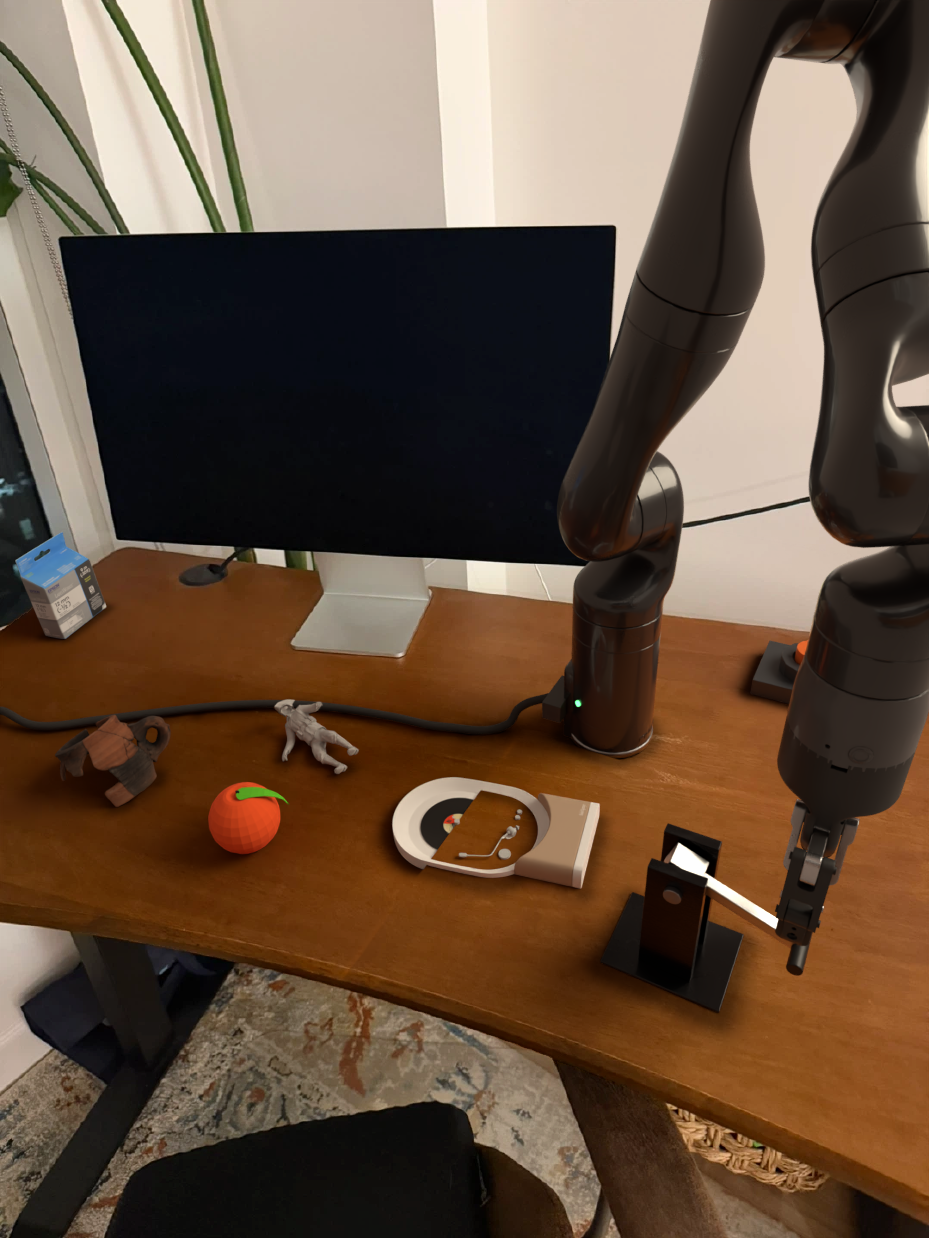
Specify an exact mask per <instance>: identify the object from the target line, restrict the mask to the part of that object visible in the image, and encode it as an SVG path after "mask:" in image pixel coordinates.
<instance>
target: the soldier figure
mask: <svg viewBox="0 0 929 1238" xmlns="http://www.w3.org/2000/svg"><path fill="white" fill-rule="evenodd" d="M282 700H283V701H281V702H278V703H277V704H276V705H275V706H274V708H273V709H274V710H275V711H277V713H278V714H279V715H281V716H283V717H284V718H286V723H285V724H284V728H285V734H286V744H285V747H284V749H283V752H282V755H281V760H282V762H285V761H288V755H289V754H290V753H291V751H292V750H293V748H294V746H295V743H296V736H297V738H298V739H299V740H300V741H304V742H305V743H306V744H307V745H308V746H309V747H311V752H312V754H313V757H314V758H315V759H316V761H318V762H320V763H321V764H322V765H330V766H332V767H335V768H334V770H333V771H334V774H336V775H340V774H341V773H344V772H346V770H347V769H348V766H347V765H346V764H344V763H342V762H340V761H338V760H336V759H335V758H333V757H332V756H331V755H329V754H328V753H327V748H326V747H327V743H330V744H332V745H333V744H335V745H336V746H340V747H342V748H346V749H347V751H346V753H347V755H348V756H350V757H351V756H353V755H354V756H355V755H358V753H359V752H360V751H359V750H360V749H359V748H357V747H356V746H354V745H352V744H351V743H350V742H349V741H348V740H347V739H345V737H342V736H341V735H340V734H338V733H337V732H336V731H335V730H329V729H327V727H325V726H323V725H321V723H319V722H317V719H316V717H314V716H313V715H310V714H312V713H316V712H317V711H320V710H319V708H320V707H321V705H322V703H321V702H322V701H315V702H316V703H314V704H311V705H299V706H298V707H297V708H296V709H295V708H294V707H293V706H292V704H293V702H294V701H295V700H296V699H290V698H288V699H287V698H286V699H282Z"/></svg>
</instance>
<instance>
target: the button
mask: <svg viewBox="0 0 929 1238" xmlns="http://www.w3.org/2000/svg"><path fill="white" fill-rule="evenodd" d="M798 643H799V644H798V645H797V649H796V654H795V662H796V663H797V664H799V665H801V662H802V660H803V658H804V655H805V651H806V647H807V643H808V640H803V641H800V642H798Z"/></svg>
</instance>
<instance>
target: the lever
mask: <svg viewBox="0 0 929 1238" xmlns="http://www.w3.org/2000/svg"><path fill="white" fill-rule="evenodd" d="M664 862H665V863H667V864H670V865H673V866H676V867H679V868H681V869H684V870H687V871H690V872H692V873H695V874H698V875H701V876H704V877H706V878H708V884H707V890H706V895H707V896H709V897H711V898H712V899H713V901H715V902H717V904H720V905H721V906H723V907H725V908H726V909H727V910H729V911H731V912H733V913H734V914H736V915H737V916H738V917H740V918H742V919H743V920H745V921H746V922H748V923H749V924H751V925H753V926H755V927H756V929H759V930H761V931H762V932H763V933H765V934H767V935H769V936H770V937H772V938H773V939H775V940H776V941H777V942H779V943H781V944H782V945H784V946H786V947H787V948H789V952H788V953H789V954H788V957H787V961H786V964H785V969H786V971H787V972H788V973H789V974H790V975H793V976H795V977H801V976H802V975H803V974H804V970H805V965H806V962H807V957H808V955H809V949H810V945H811V942H812V937H813V932H812V934H811V937H810V941H809V944H808V945H807V946H800V945H797V944H795V943H792V942H790V941H787V940H785V939H782V938H780V937H779V936H777V935H776V933H775V929H776V926H777V922H778V919H777V918H776V915H775V916H774V914H772V913H770V912H769V911H767V910H765V909H764V908H762V907H761V906H759V905H757V904H756V903H754V902H752V901H751V900H749V899H748V898H747V897H744V896H743V895H742V894H740V893H739V892H737V891H735V890H733V889H732V888H730V887H729V886H727V885H726V884H725V883H723V882H721V881H719V880H717V878H716V879H715V878H713V877H711V876H710V875H708V874H707V873H706V870H707V868H708V865H709V861H707V860H706V859H704V858H702V857H701V856H699V855H698V854H696V853H694V852H693V851H691V850H690V849H688V848H687V847H685V846H683V845H682V844H680V843H677V844H676V845H675V847H674V848H673V849H672V850H671V852H670V853H669V854H668V855H667V857H666V858H665V860H664Z"/></svg>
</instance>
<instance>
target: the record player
mask: <svg viewBox="0 0 929 1238" xmlns="http://www.w3.org/2000/svg"><path fill="white" fill-rule="evenodd" d="M481 791H484V792H488V793H492V794H493V793H494V794H498V795H502V796H507V797H510V798H513V799H516V800H517V801H519V802H521V803H522V804H524V805H525V806H526V808H528V809H529V810H530V812H531V813H532V815H534V818H535V821H536V825H537V836H536V840H535V842H534V845H533V847H532V848H531V849H530V850H529V851H528V852H526V853H525V854H523V855H521V856H520V857H518V858H517V860H516V861H515V862H514V863H513V864H510V865H507V866H504V867H501V868H500V867H499V868H495V869H481V868H475V867H469V866H464V865H459V864H454V863H451V862H450V863H449V862H445V861H440V860H436V859H432V858H433V857H434V855H435V854H436V853H437V852H438V850H439V849H440V847H441V846H442V845H443V843H444V842H445V841H446V839H447V838H448V837H449V835H450V834H451V833H452V831H453V830H454V828H455V827H456V826H459V825H460V824H461V822H460V820H461V818H462V817H463V816H464V815H465V813H466V812H467V810H468V809H469V807H470V806H471V805H472V803H473V802H474V800H475V799H476V798H477V796H478V795H479V794H480V792H481ZM600 806H601V804H600V803H598V802H594V801H593V802H592V801H587V800H581V799H576V798H570V797H565V796H561V795H560V796H559V795H555V794H548V793H544V792H543V793H542V792H540V793H538V795H537V797H535V796H534V795H532V794H530V793H529V792H528V791H526V790H524V789H520V788H518V787H515V786H510V785H505V784H499V783H496V782H489V781H483V780H478V779H472V778H467V777H465V778H464V777H457V776H452V777H450V776H449V777H441V778H436V779H433V780H430V781H427V782H425V783H422V784H420V785H418V786H416V787H415V788H413V789H412V790H411V791H409V792H408V793H407V794H406V795H404V797H403V798H402V799H401V800H400V801H399V802H398V804H397V806H396V808H395V810H394V813H393V816H392V821H391V822H392V823H391V825H392V835H393V839H394V843H395V847H396V848H397V850H398V852H399V853H400V855H401V856H402V857H403V858H404V859H405V860H406V861H407V862H408V863H410V864H411V865H413V866H414V867H416V868H418V869H420V870H425V868H426V867H427V866H430V867H432V868H433V867H434V868H438V869H441V870H445V871H450V872H455V873H459V874H463V875H468V876H475V877H479V878H488V879H494V878H496V879H497V878H503V877H508V876H512V875H515V876H521V877H525V878H530V879H535V880H538V881H539V880H540V881H543V882H549V883H553V884H558V885H562V886H567V887H572V888H576V889H580V890H581V889H582V888H583V883H584V879H585V876H586V872H587V867H588V864H589V860H590V856H591V852H592V847H593V843H594V839H595V835H596V830H597V827H598V823H599V818H600V810H601V809H600V808H601V807H600ZM522 814H523V810H522V809H517V810H516V815H515V816H514V820H516V821H520V820H521V815H522ZM519 830H520V825H515V826H514V827H513V826H511V825H510V826H508V827H507V828H506V833H505V834H503V835H502V836H501V837H500V839H499V840H498V842H497V844H496V846H494V849H493V850H492V852H491V853H490V854H484V855H483V854H467V852H459V853H458V857H459V858H467V857H482V858H483V857H490V856H493V854H494V852H495V851H496V849H497V848H498V847H499V845H500V843H501V841H502V840H504V839H506V840H511V839H512V838H514V837H515V836H516V835H517V831H519ZM511 855H512V853H511V851H510V849H508V848H502V849H500V850H499V851H498V858H499V859H501V860H503V861H505V860H508V859H510V858H511Z"/></svg>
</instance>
